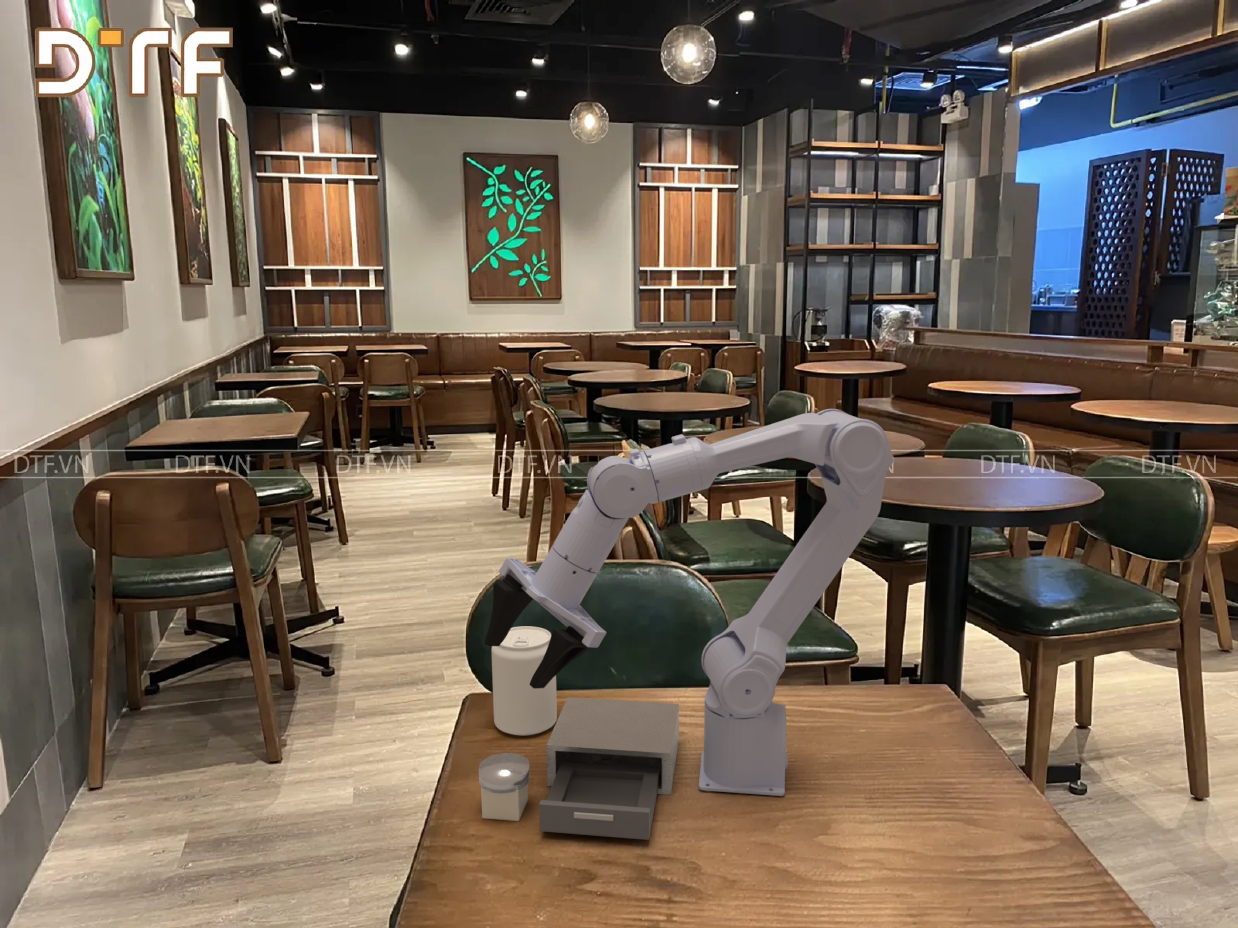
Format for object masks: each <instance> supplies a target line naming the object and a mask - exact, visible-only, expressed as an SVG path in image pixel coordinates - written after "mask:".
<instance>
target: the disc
mask: <svg viewBox="0 0 1238 928" xmlns="http://www.w3.org/2000/svg"><path fill="white" fill-rule="evenodd" d="M530 769H531V767H530V761H529V759H528V758H527V757H526V756H524V755H523V754H519V753H516V752H515V753H514V752H500V753H496V754H492V755H489V756H488V757H485V758H483V760H481V762H480V763H479V765H478V783H479V786H480V787H482V788H483V789H484V790H486V791H488V792H492V793H511V792H515V791H517V790H520V789H522V788H523V787H525V786H526V785H527V784H529V782H530V780H531V779H530V778H531V773H530V772H531V770H530Z"/></svg>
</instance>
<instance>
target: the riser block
mask: <svg viewBox="0 0 1238 928" xmlns="http://www.w3.org/2000/svg"><path fill="white" fill-rule="evenodd" d="M528 784H529V783H528ZM528 784H527V785H526V786H525V787H523V788H522V789H520V790H517V791H515V792H511V793H492V792H488V791H486V790H484V789H483V788H482V787H481V786H480V787H481V788H480V795H481V818H482V819H485V820H486V819H489V820H499V821H500V820H501V821H512V822H513V821H515V822H520V819H521V817H522V815H523V813H524V811H525V808H526V805H527V804H528V801H529V790H528V788H529V787H528Z"/></svg>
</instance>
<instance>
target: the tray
mask: <svg viewBox="0 0 1238 928" xmlns="http://www.w3.org/2000/svg"><path fill="white" fill-rule="evenodd" d="M659 780H660V767H646V766H631V765H617V764H602V763H587V762H573V761H562V762H561V765H560V767H559V770H558V772H557V775H556V777H555V780H554V782H553V785H552V786H551V787H550V790H549V793H548V795H547V798H546V800H544V799H540V802H539V806H538V808H539V832H549V833H557V834H558V833H559V834H569V835H571V834H572V835H583V836H585V835H586V836H594V837H595V836H596V837H598V836H599V837H610V838H619V839H620V838H623V839H634V840H645V841H649V840H650V836H651V832H652V831H651V830H652V824H653V818H654V813H655V807H656V802H657V796H658V794H657V791H658V785H659Z"/></svg>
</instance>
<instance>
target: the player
mask: <svg viewBox="0 0 1238 928" xmlns="http://www.w3.org/2000/svg"><path fill="white" fill-rule="evenodd" d="M551 731H552V732H551V734H550V736H549V739H548V741H547V743H546V746H545V747H546V783H547V784H546V786H547V787H552V785H553V782H554V780H555V777H556V775H557V772H558V770H559V767H560V765H561V762H562V761H573V762H587V763H602V764H617V765H631V766H646V767H660V780H659V785H658V791H657V795H667V796H671V795H672V791H673V790H672V789H673V784H674V783H673V782H674V776H675V775H674V774H675V769H676V763H677V757H676V756H678V749H679V743H680V737H679V736H680V703H673V702H672V703H671V702H654V701H640V700H639V701H636V700H622V699H621V700H619V699H605V698H604V699H603V698H601V699H600V698H586V697H585V698H584V697H566V700H565V702H564V705H563V706H562V709H561V711H560V714H559V716H558V717H557V720H556V722H555V724H554V728H553V729H552V730H551Z"/></svg>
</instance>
